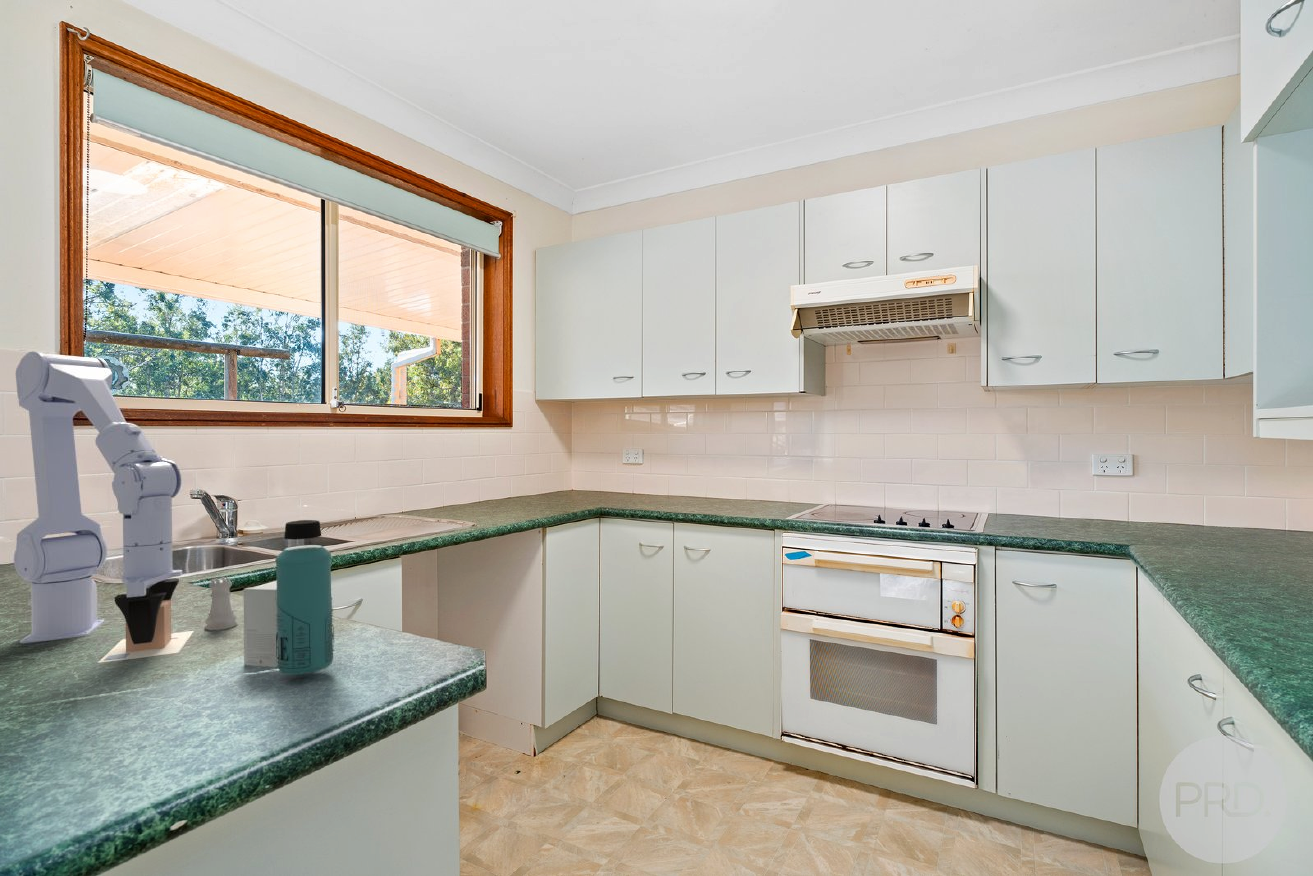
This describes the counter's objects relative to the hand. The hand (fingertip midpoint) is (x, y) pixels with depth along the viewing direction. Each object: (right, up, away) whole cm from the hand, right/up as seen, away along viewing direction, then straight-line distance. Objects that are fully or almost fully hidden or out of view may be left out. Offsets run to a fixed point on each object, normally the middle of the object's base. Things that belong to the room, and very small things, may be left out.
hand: (149, 636), depth 97 cm
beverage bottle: (+30, -2, -13) cm, 33 cm away
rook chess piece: (+4, -2, +10) cm, 11 cm away
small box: (+23, -2, -5) cm, 24 cm away
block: (0, -1, 0) cm, 1 cm away
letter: (0, -2, 0) cm, 2 cm away
